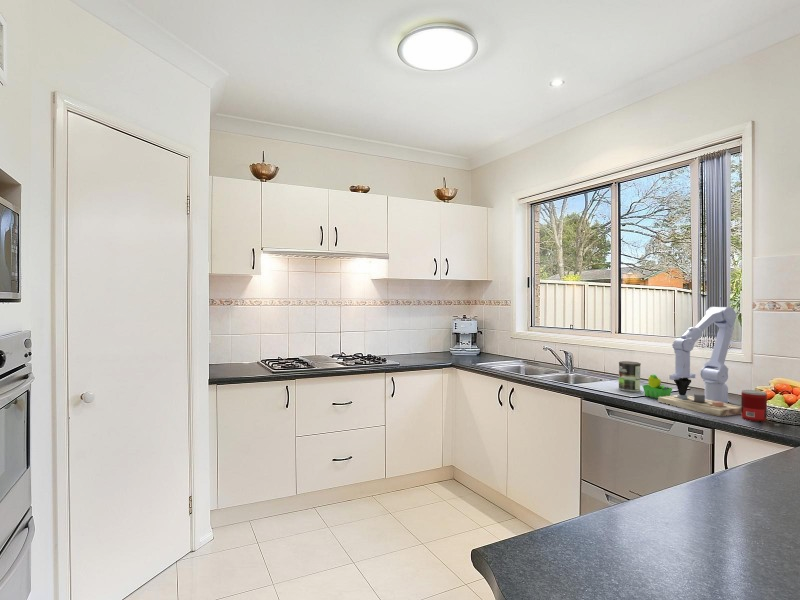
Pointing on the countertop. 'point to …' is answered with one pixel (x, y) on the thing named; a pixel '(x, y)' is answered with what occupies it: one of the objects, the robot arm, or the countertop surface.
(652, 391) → the fruit basket
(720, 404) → the button terracotta
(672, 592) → the countertop surface
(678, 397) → the button slate
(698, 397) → the button charcoal
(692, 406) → the panel
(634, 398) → the countertop surface
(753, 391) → the canned food
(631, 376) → the coffee can
